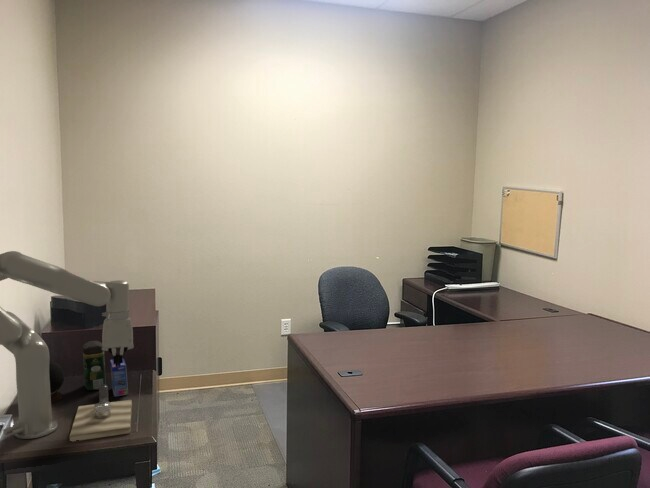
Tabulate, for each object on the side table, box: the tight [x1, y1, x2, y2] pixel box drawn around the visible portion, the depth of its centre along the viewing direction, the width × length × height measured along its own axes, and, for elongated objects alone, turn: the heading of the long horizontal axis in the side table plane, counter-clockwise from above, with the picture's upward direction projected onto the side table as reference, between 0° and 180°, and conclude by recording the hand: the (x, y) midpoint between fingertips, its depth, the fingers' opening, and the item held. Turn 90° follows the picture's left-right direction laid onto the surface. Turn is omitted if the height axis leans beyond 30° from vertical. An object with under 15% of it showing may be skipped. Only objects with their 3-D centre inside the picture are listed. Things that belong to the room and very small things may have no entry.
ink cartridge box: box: [109, 358, 129, 398], centre depth 205 cm, size 10×6×14 cm, turn 27°
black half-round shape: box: [49, 360, 65, 405], centre depth 197 cm, size 13×13×15 cm
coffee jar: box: [82, 340, 107, 391], centre depth 210 cm, size 10×8×19 cm
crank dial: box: [94, 384, 111, 419], centre depth 182 cm, size 13×5×7 cm, turn 21°
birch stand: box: [69, 399, 133, 442], centre depth 178 cm, size 24×18×2 cm
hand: (118, 365), depth 187 cm, fingers closed
